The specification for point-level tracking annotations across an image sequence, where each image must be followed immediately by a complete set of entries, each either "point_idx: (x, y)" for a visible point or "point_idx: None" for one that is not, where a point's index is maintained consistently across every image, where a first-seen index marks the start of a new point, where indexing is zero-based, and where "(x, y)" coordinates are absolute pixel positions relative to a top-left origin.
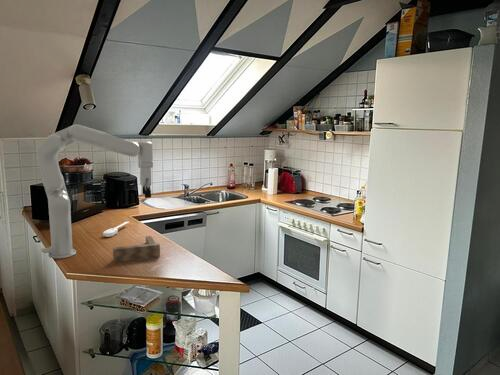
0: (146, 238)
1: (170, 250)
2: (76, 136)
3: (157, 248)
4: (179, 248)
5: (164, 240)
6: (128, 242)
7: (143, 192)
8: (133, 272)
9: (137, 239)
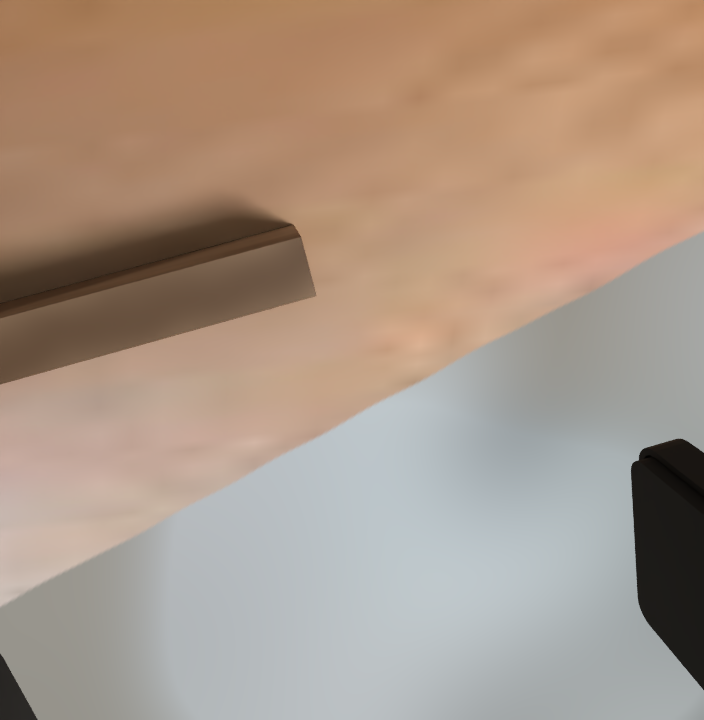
0: (246, 250)
1: (36, 481)
2: None
3: None
4: (98, 545)
5: (346, 396)
6: (311, 21)
7: (677, 513)
8: None
9: (411, 119)
